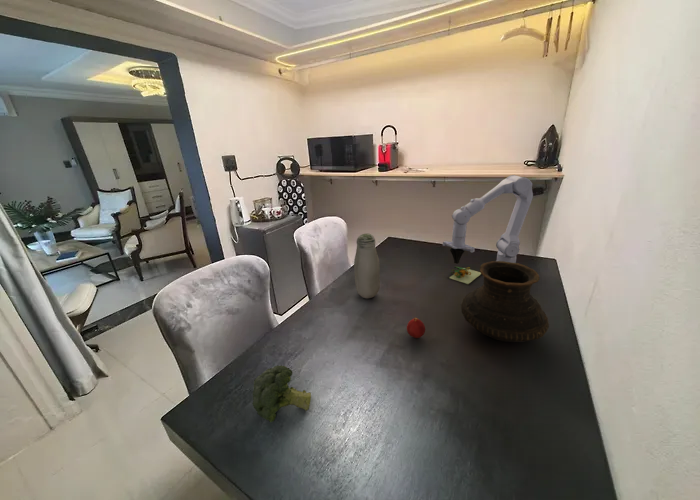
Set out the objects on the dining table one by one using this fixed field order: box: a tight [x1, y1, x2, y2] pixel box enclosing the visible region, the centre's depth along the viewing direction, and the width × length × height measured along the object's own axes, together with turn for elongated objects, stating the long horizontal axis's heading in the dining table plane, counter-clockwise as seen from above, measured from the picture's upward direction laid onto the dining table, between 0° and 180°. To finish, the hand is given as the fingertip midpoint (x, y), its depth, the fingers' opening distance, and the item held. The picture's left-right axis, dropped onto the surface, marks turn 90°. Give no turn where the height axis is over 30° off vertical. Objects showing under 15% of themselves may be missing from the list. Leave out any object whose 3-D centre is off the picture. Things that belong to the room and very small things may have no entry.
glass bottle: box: [353, 233, 381, 299], centre depth 108 cm, size 10×10×28 cm
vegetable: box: [251, 364, 312, 423], centre depth 66 cm, size 12×13×15 cm
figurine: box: [450, 266, 471, 278], centre depth 124 cm, size 3×12×8 cm
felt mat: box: [449, 267, 482, 285], centre depth 124 cm, size 14×9×1 cm, turn 132°
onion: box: [406, 317, 426, 339], centre depth 86 cm, size 6×6×8 cm
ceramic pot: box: [460, 260, 550, 343], centre depth 83 cm, size 24×24×22 cm
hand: (456, 262), depth 125 cm, fingers closed
